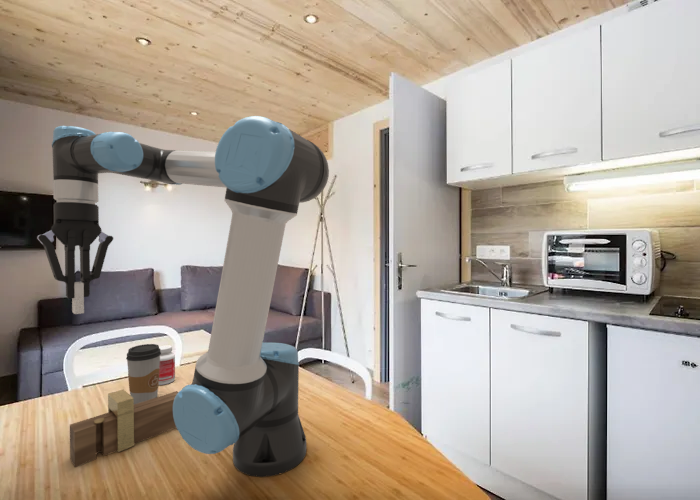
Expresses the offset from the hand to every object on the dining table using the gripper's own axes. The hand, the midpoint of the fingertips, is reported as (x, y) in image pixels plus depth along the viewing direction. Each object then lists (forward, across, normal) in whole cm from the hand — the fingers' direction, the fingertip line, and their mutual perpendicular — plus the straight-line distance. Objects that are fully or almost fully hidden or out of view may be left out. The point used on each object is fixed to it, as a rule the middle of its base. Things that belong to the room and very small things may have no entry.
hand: (78, 312), depth 74 cm
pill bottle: (+30, -26, -23) cm, 46 cm away
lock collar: (+29, -6, +6) cm, 30 cm away
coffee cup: (+30, -17, -13) cm, 37 cm away
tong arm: (+29, -11, +7) cm, 32 cm away
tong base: (+29, -8, +5) cm, 31 cm away
